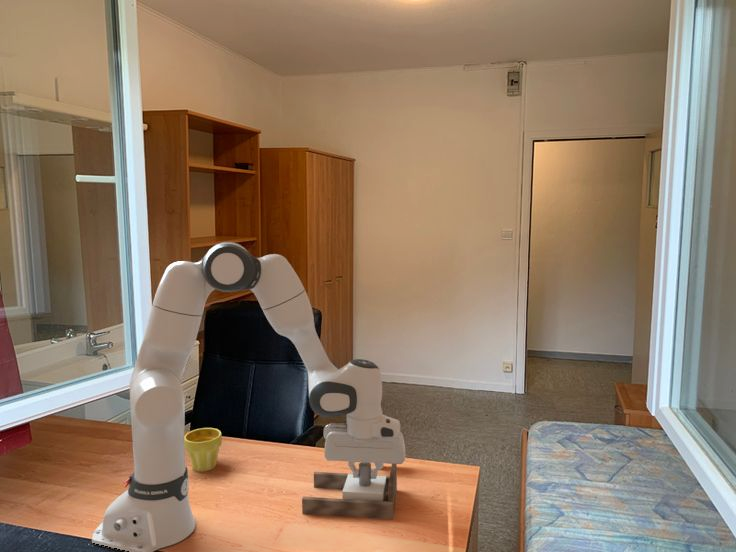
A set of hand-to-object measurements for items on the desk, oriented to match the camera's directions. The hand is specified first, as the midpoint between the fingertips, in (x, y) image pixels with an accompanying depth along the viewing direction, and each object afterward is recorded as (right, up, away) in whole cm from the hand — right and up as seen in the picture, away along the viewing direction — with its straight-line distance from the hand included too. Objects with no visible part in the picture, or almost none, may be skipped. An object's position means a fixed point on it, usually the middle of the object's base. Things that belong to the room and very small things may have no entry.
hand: (365, 477), depth 137 cm
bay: (-3, -8, +1) cm, 8 cm away
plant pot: (-47, -5, +23) cm, 53 cm away
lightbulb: (+4, -6, +19) cm, 21 cm away
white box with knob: (0, -7, +1) cm, 7 cm away
